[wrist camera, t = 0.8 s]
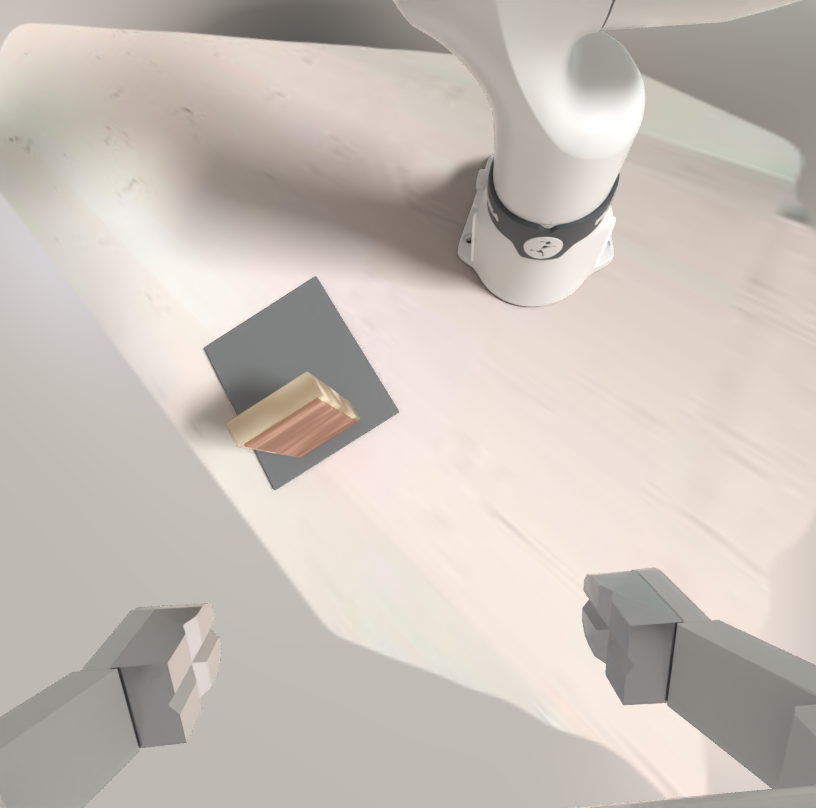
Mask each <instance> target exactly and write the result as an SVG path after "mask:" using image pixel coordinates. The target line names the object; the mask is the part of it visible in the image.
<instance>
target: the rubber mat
mask: <svg viewBox="0 0 816 808" xmlns="http://www.w3.org/2000/svg"><path fill="white" fill-rule="evenodd" d="M204 349H205V351H206V353H207V355H208V357H209V359H210V361H211V363H212V365H213V367H214V369H215V371H216V373H217V375H218V377H219V379H220V381H221V383H222V385H223V387H224V389H225V391H226V393H227V395H228V397H229V399H230V401H231V403H232V405H233V407H234V409H235V411H236V413H237V415H239V414H241V413H243V412H244V411H246V410H247V409H249V408H250V407H252V406H254V405H255V404H257V403H258V402H260V401H261V400H263V399H265V398H266V397H268V396H269V395H271V394H272V393H274V392H276V391H277V390H279V389H280V388H282V387H283V386H285V385H287V384H288V383H290V382H291V381H293V380H294V379H296V378H298V377H299V376H301V375H302V374H304V373H305V372H307V371H308V372H309V373H310V374H312V375H313V376H315V377H316V378H317V379H319V380H320V381H322V382H323V383H324V384H326V385H327V386H329V387H330V388H331V389H333V390H334V391H336V392H337V393H338V394H340V395H341V396H343V397H344V398H345V399H347V400H348V401H349V402H351V404H352V406H353V407H354V409H355V411H356V413H357V414H358V416H359V418H360V419H359V420H358V421H356V422H357V423H355V424H354V425H352V426H351V427H349V428H347V429H346V430H344V431H343V432H341V433H340V434H338V435H336V436H335V437H333V438H332V439H330V440H328V441H327V442H325V443H324V444H322V445H321V446H319V447H317V448H316V449H314V450H313V451H311V452H309V453H308V454H306V455H305V456H303V457H299V458H297V457H291V456H286V455H281V454H275V453H270V452H264V451H259V450H255V452H256V454H257V456H258V458H259V460H260V462H261V464H262V466H263V468H264V470H265V472H266V474H267V476H268V478H269V480H270V482H271V484H272V486H273V488H274V490H276V489H278V488H279V487H281V486H283V485H284V484H286V483H287V482H289V481H291V480H292V479H294V478H295V477H297V476H298V475H300V474H302V473H303V472H305V471H306V470H308V469H310V468H311V467H313V466H314V465H316V464H318V463H319V462H321V461H322V460H324V459H325V458H327V457H329V456H330V455H332V454H333V453H335V452H337V451H338V450H340V449H341V448H343V447H345V446H346V445H348V444H349V443H351V442H352V441H354V440H356V439H357V438H359V437H360V436H362V435H364V434H365V433H367V432H368V431H370V430H371V429H373V428H375V427H376V426H378V425H379V424H381V423H383V422H384V421H386V420H387V419H389V418H391V417H392V416H394V415H395V414H397V413H398V412H399V411H398V409H397V407H396V406H395V404H394V403H393V401H392V399H391V398H390V396H389V394H388V393H387V391H386V389H385V388H384V386H383V385H382V383H381V381H380V380H379V378H378V376H377V375H376V373H375V372H374V370H373V368H372V367H371V365H370V363H369V362H368V360H367V358H366V357H365V355H364V354H363V352H362V350H361V349H360V347H359V345H358V344H357V342H356V341H355V339H354V337H353V336H352V334H351V332H350V331H349V329H348V327H347V326H346V324H345V323H344V321H343V319H342V318H341V316H340V314H339V313H338V311H337V309H336V308H335V306H334V305H333V303H332V301H331V300H330V298H329V296H328V295H327V293H326V292H325V290H324V288H323V287H322V285H321V283H320V282H319V280H318V278H317V277H316V276H315V277H314V278H312V279H311V280H309V281H308V282H306V283H304V284H303V285H301V286H300V287H298V288H297V289H295V290H294V291H292V292H290V293H289V294H287V295H286V296H284V297H283V298H281V299H280V300H278V301H276V302H275V303H273V304H272V305H270V306H269V307H267V308H266V309H264V310H262V311H261V312H259V313H258V314H256V315H255V316H253V317H251V318H250V319H248V320H247V321H245V322H244V323H242V324H241V325H239V326H237V327H236V328H234V329H233V330H231V331H230V332H228V333H227V334H225V335H223V336H222V337H220V338H219V339H217V340H216V341H214V342H213V343H211V344H209V345H208V346H206V347H205V348H204Z"/></svg>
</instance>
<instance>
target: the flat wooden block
mask: <svg viewBox="0 0 816 808" xmlns="http://www.w3.org/2000/svg"><path fill="white" fill-rule="evenodd" d="M359 419H360V418H359V416H358V414H357V413H356V411H355V409H354V407H353V406H352V404H351V402H349V401H348V400H347V399H345V398H344V397H343V396H341V395H340V394H338V393H337V392H336V391H334V390H333V389H331V388H330V387H329V386H327V385H326V384H324V383H323V382H322V381H320V380H319V379H317V378H316V377H315V376H313V375H312V374H310V373H309V372H308V371H307V372H305V373H304V374H302V375H301V376H299V377H298V378H296V379H294V380H293V381H291V382H290V383H288V384H287V385H285V386H283V387H282V388H280V389H279V390H277V391H276V392H274V393H272V394H271V395H269V396H268V397H266V398H265V399H263V400H261V401H260V402H258V403H257V404H255V405H254V406H252V407H250V408H249V409H247V410H246V411H244V412H243V413H241V414H239V415H238V416H236V417H235V418H233V419H232V420H230V421H228V422H227V423H225V424H226V426H227V428H228V430H229V432H230V434H231V436H232V438H233V440H234V442H235V444H236V446H237V447H243V448H248V449H254V450H259V451H264V452H270V453H275V454H281V455H286V456H291V457H297V458H299V457H303V456H305V455H306V454H308V453H309V452H311V451H313V450H314V449H316V448H317V447H319V446H321V445H322V444H324V443H325V442H327V441H328V440H330V439H332V438H333V437H335V436H336V435H338V434H340V433H341V432H343V431H344V430H346V429H347V428H349V427H351V426H352V425H354V424H355V423H357V422H356V421H358V420H359Z"/></svg>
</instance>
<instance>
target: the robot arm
mask: <svg viewBox="0 0 816 808" xmlns="http://www.w3.org/2000/svg"><path fill="white" fill-rule="evenodd" d="M393 1H394V3H395V4H396V6H397V7H398V9H399V10H400V12H401V13H402V15H403V16H404V17H405V18H406V19H407V20H408V22H409V23H410V24H411V25H412V26H414V27H416V28H417V29H419V30H421V31H422V32H424V33H426V34H428V35H430V36H431V37H432V38H434V39H435V40H437V41H438V42H440V43H441V44H442V45H444V46H445V47H446V48H447V49H448V50H450V51H451V52H452V53H453V54H454V55H455V56H456V57H457V58H458V59H459V60H460V61H461V62H462V63H463V64H464V65H465V66H466V68H467V69H468V70H469V71H470V73H471V74H472V75H473V76H474V78H475V79H476V81H477V82H478V84H479V85H480V87H481V88H482V90H483V92H484V94H485V96H486V98H487V100H488V102H489V105H490V107H491V111H492V116H493V128H494V154H493V155H491V156H490V157H489V159H488V161H487V163H486V166H485V169H481V170H479V172H478V175H477V180H476V189H477V192H476V195H475V197H474V201H473V204H472V207H471V210H470V213H469V216H468V218H467V221H466V224H465V227H464V230H463V233H462V236H461V239H460V242H459V245H458V250H457V254H458V256H459V258H460V259H461V260H463V261H464V262H465V263H466V264H468V265H469V266H471V267H472V268H474V270H475V271H476V272H477V274H478V276H479V277H480V279H481V281H482V282H483V284H484V285H485V286H486V287H487V288H488V289H489V290H490V291H491V292H492V293H493V294H494V295H496V296H497V297H499V298H501V299H502V300H504V301H507V302H509V303H512V304H515V305H520V306H529V307H535V306H544V305H549V304H552V303H555V302H558V301H560V300H562V299H564V298H566V297H567V296H569V295H570V294H572V293H573V292H574V291H575V290H577V289H578V288H579V287H580V286H581V284H582V283H583V282H584V281H585V280H586V278H587V277H588V276H589V275H591V274H592V273H594V272H596V271H598V270H600V269H602V268H603V267H605V266H607V265H608V264H609V263H610V262H611V261H612V258H613V255H614V249H613V244H612V238H611V232H612V230H613V227H614V225H615V220H616V218H615V217H614V216H613V212H612V207H611V204H612V201H613V199H614V196H615V193H616V188H617V186H618V181H619V171H620V169H621V167H622V165H623V163H624V161H625V158H626V156H627V154H628V152H629V150H630V148H631V145H632V143H633V141H634V139H635V137H636V134H637V132H638V130H639V128H640V125H641V123H642V119H643V114H644V108H645V88H644V83H643V79H642V76H641V74H640V71H639V70H638V68H637V66H636V64H635V62H634V61H633V59H632V57H631V56H630V54H629V53H628V51H627V50H626V49H625V47H624V46H623V45H622V44H621V43H619V42H618V41H617V40H616V39H614V38H613V37H611V36H610V35H608V34H607V33H605V32H603V31H602V30H614V29H629V28H643V27H658V26H673V25H686V24H702V23H715V22H727V21H730V20H734V19H738V18H742V17H745V16H749V15H753V14H757V13H760V12H764V11H768V10H772V9H775V8H778V7H782V6H785V5H788V4H792V3H795V2H798V1H801V0H393ZM467 241H472V243H467ZM584 592H585V594H586V595H587V597H588V598H589V601H588V602H587V603H586V604H585V606H584V607H583V608H582V623H583V628H584V633H585V637H586V639H587V642H588V644H589V647H590V648H591V650H592V652H593V654H594V656H595V657H597V658H598V659H600V660H601V661H603V662H604V663H606V677H607V678H608V680H609V682H610V683H611V685H612V687H613V688H614V690H615V692H616V694H617V695H618V697H619V699H620V700H621V702H622V704H623V705H635V704H654V703H667V705H668V706H669V707H670V708H671V709H673V710H674V711H675V712H676V713H678V714H679V715H680V716H681V717H683V718H684V719H685V720H686V721H688V722H689V723H690V724H692V725H693V726H694V727H695V728H697V729H698V730H699V731H700V732H702V733H703V734H704V735H705V736H707V737H708V738H709V739H710V740H712V741H713V742H714V743H715V744H717V745H718V746H719V747H720V748H722V749H723V750H724V751H726V752H727V753H728V754H729V755H731V756H732V757H733V758H734V759H735V760H737V761H738V762H739V763H741V764H742V765H743V766H744V767H746V768H747V769H748V770H749V771H751V772H752V773H753V774H755V775H756V776H757V777H758V778H759V779H761V780H762V781H763V782H764V783H766V784H767V785H768V786H769V787H771V788H772V789H767V790H757V791H747V792H735V793H724V794H713V795H702V796H692V797H681V798H670V799H659V800H649V801H638V802H627V803H617V804H606V805H595V806H586V807H585V806H584V807H574V808H816V665H814V664H812V663H810V662H807V661H805V660H803V659H801V658H799V657H797V656H794V655H792V654H790V653H788V652H786V651H784V650H782V649H780V648H778V647H775V646H773V645H771V644H769V643H767V642H765V641H763V640H760V639H758V638H756V637H754V636H752V635H750V634H748V633H745V632H743V631H741V630H739V629H737V628H735V627H733V626H731V625H728V624H726V623H724V622H722V621H720V620H713V621H711V620H710V619H709V618H708V617H707V616H706V615H705V614H704V613H703V612H702V611H701V610H700V609H699V608H698V607H697V606H696V605H695V604H694V603H693V602H692V601H691V600H690V599H689V598H688V597H687V596H686V595H685V594H684V593H683V592H682V591H681V590H680V589H679V588H678V587H677V586H676V585H675V584H674V583H673V582H672V581H671V580H670V579H669V578H668V577H667V576H666V575H665V574H664V573H663V572H662V571H661V570H659V569H656V568H646V569H636V570H631V571H623V572H611V573H598V574H587V575H586V577H585V580H584ZM214 621H215V615H214V611H213V607H212V606H211V605H210V604H208V603H201V604H183V605H165V606H151V607H138V608H136V609H134V610H131V611H130V612H129V614H128V615H127V616H126V617H125V618H124V619H123V621H122V622H121V623H120V624H119V625H118V627H117V628H116V629H115V630H114V631H113V633H112V634H111V635H110V636H109V637H108V639H107V640H106V641H105V642H104V643H103V645H102V646H101V647H100V648H99V649H98V651H97V652H96V653H95V654H94V655H93V657H92V658H91V659H90V660H89V662H88V663H87V664H86V665H85V666H84V667H83V669H82V670H81V671H80V672H72V673H70V674H69V675H67V676H65V677H63V678H62V679H61V680H59V681H57V682H55V683H54V684H52V685H51V686H49V687H47V688H46V689H44V690H43V691H41V692H40V693H38V694H36V695H35V696H33V697H31V698H30V699H28V700H27V701H25V702H24V703H22V704H20V705H19V706H17V707H15V708H14V709H12V710H11V711H9V712H8V713H6V714H4V715H3V716H1V717H0V808H84V807H85V806H86V805H87V804H88V803H89V802H90V800H92V799H93V798H94V797H95V796H96V795H97V794H98V793H99V792H100V791H101V790H102V789H103V788H104V787H105V785H106V784H108V783H109V782H110V781H111V780H112V779H113V777H114V776H116V775H117V774H118V773H119V772H120V771H121V770H122V768H123V767H124V766H126V764H127V763H128V762H129V761H130V760H131V759H132V758H133V757H134V756H135V755H136V754H137V753H138V752H139V751H140V750H139V748H146V747H154V746H163V745H172V744H180V743H187V741H188V738H189V736H190V734H191V732H192V730H193V727H194V726H195V723H196V721H197V719H198V717H199V715H200V713H201V710H202V706H201V700H200V698H201V697H202V696H203V695H204V694H205V693H206V692H207V691H209V690H210V689H211V688H212V686H213V684H214V681H215V679H216V677H217V674H218V669H219V665H220V660H221V645H220V640H219V636H217V635H216V634H215V633H214V632H213V631H212V630H211V627H212V625H213V623H214Z"/></svg>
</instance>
